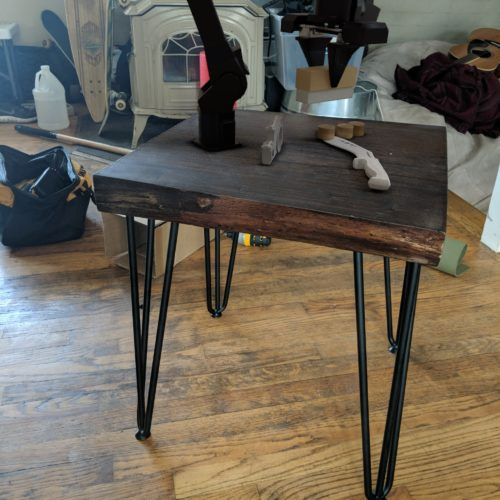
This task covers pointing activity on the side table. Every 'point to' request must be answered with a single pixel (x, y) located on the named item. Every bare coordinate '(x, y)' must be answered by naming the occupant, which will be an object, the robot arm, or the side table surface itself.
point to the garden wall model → (273, 138)
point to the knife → (364, 163)
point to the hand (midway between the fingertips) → (325, 85)
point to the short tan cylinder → (344, 131)
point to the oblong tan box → (323, 84)
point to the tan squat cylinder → (326, 132)
